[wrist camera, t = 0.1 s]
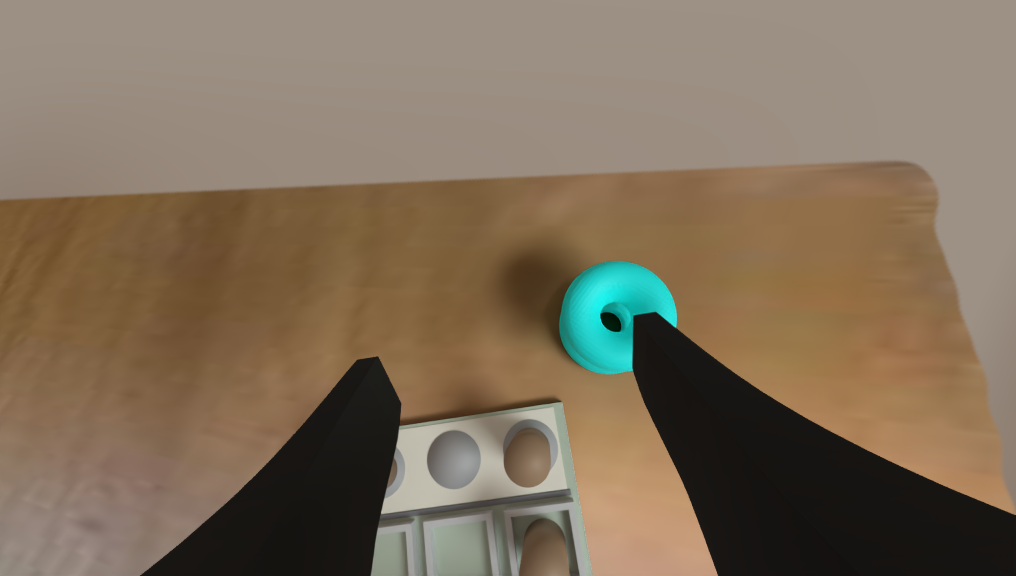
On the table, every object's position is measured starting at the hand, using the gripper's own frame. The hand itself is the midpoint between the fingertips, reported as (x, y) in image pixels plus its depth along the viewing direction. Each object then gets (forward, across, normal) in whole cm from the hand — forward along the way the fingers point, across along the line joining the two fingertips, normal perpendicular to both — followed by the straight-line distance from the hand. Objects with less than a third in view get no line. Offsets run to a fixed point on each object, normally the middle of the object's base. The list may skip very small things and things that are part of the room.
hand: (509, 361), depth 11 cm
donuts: (+24, -8, +21) cm, 34 cm away
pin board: (+13, +10, +32) cm, 35 cm away
